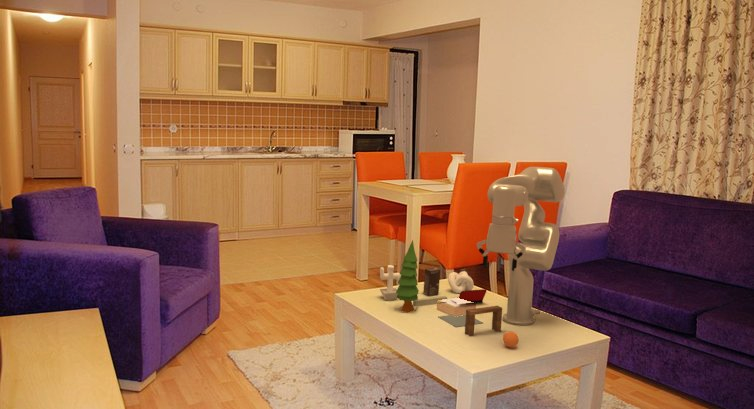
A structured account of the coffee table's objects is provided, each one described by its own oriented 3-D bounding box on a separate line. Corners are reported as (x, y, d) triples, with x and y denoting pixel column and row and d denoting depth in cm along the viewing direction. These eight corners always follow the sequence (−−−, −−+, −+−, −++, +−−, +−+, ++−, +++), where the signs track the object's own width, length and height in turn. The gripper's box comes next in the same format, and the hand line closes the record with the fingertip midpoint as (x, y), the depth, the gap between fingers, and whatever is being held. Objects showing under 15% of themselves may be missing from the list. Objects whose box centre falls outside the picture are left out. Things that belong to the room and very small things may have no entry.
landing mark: (464, 313, 250) (464, 313, 250) (483, 323, 239) (483, 322, 239) (437, 317, 244) (437, 316, 244) (455, 327, 233) (455, 326, 233)
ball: (511, 343, 218) (512, 328, 217) (521, 348, 213) (522, 333, 212) (499, 345, 215) (500, 330, 215) (509, 350, 211) (510, 335, 210)
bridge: (464, 333, 226) (466, 309, 225) (496, 328, 233) (497, 305, 232) (469, 336, 224) (470, 312, 223) (500, 331, 230) (502, 307, 229)
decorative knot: (457, 296, 275) (458, 277, 274) (440, 289, 285) (441, 271, 284) (476, 293, 281) (477, 274, 280) (459, 286, 291) (460, 268, 290)
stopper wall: (444, 301, 266) (444, 295, 266) (446, 302, 265) (447, 297, 264) (412, 305, 259) (413, 299, 259) (415, 306, 258) (415, 300, 257)
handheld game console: (475, 298, 273) (475, 282, 272) (486, 305, 263) (487, 289, 262) (449, 300, 269) (450, 284, 268) (460, 307, 259) (461, 290, 258)
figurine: (402, 300, 265) (403, 267, 263) (381, 301, 263) (382, 268, 261) (397, 295, 272) (398, 263, 270) (377, 296, 270) (378, 264, 268)
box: (429, 296, 273) (430, 270, 271) (423, 294, 276) (424, 268, 275) (439, 295, 276) (440, 269, 274) (433, 292, 280) (434, 267, 278)
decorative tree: (422, 310, 252) (425, 240, 248) (407, 315, 245) (410, 242, 241) (405, 305, 259) (408, 236, 255) (390, 309, 252) (392, 239, 248)
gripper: (528, 222, 215) (524, 269, 217) (479, 217, 220) (476, 264, 222) (527, 224, 208) (523, 273, 209) (476, 220, 213) (473, 267, 214)
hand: (499, 268), depth 215 cm, fingers open, 9 cm apart
